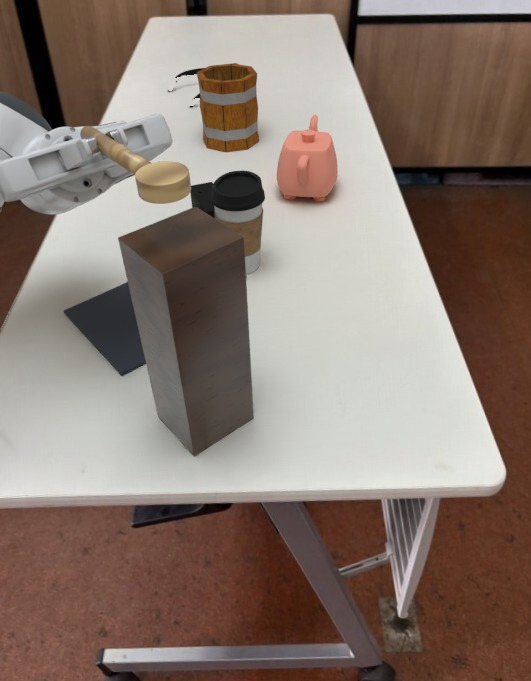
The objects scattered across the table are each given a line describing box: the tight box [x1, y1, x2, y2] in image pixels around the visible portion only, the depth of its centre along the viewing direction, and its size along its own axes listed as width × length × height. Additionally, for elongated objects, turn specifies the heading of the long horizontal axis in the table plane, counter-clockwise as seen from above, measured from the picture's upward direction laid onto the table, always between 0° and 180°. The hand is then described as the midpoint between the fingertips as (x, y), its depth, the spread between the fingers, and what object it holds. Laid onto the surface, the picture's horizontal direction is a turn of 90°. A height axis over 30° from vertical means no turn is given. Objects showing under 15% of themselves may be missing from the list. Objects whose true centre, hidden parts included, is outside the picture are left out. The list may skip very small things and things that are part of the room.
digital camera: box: [189, 181, 215, 218], centre depth 102 cm, size 10×5×7 cm, turn 21°
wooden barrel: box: [196, 62, 260, 153], centre depth 132 cm, size 20×14×15 cm
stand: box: [117, 207, 255, 457], centre depth 63 cm, size 8×9×26 cm
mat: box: [62, 281, 146, 377], centre depth 85 cm, size 18×12×1 cm, turn 40°
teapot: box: [276, 114, 339, 202], centre depth 112 cm, size 20×12×12 cm, turn 170°
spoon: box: [80, 125, 192, 205], centre depth 55 cm, size 18×5×2 cm, turn 40°
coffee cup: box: [211, 170, 266, 275], centre depth 91 cm, size 8×8×15 cm
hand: (105, 141), depth 58 cm, fingers closed on spoon, 2 cm apart
